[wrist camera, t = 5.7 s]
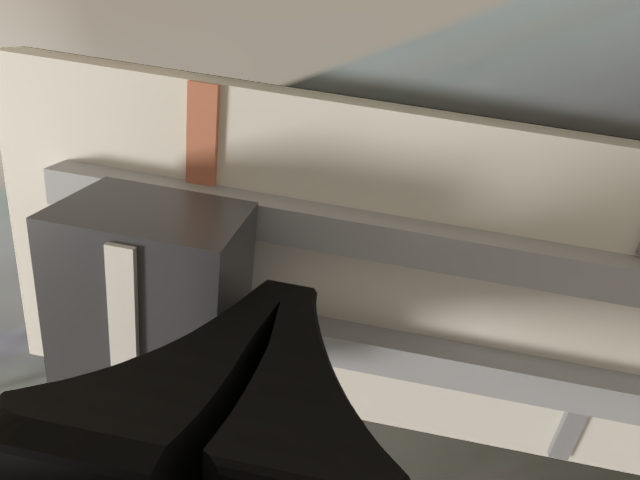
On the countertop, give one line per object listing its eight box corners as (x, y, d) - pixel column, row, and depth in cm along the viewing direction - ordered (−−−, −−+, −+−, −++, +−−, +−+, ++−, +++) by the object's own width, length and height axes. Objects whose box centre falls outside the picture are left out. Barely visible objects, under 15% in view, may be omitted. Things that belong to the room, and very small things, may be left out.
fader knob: (267, 190, 13) (217, 256, 9) (254, 342, 15) (208, 446, 11) (125, 166, 13) (20, 220, 10) (131, 318, 15) (46, 413, 12)
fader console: (816, 167, 13) (910, 198, 10) (658, 446, 17) (700, 511, 15) (24, 46, 14) (-45, 49, 12) (56, 329, 18) (9, 371, 16)
